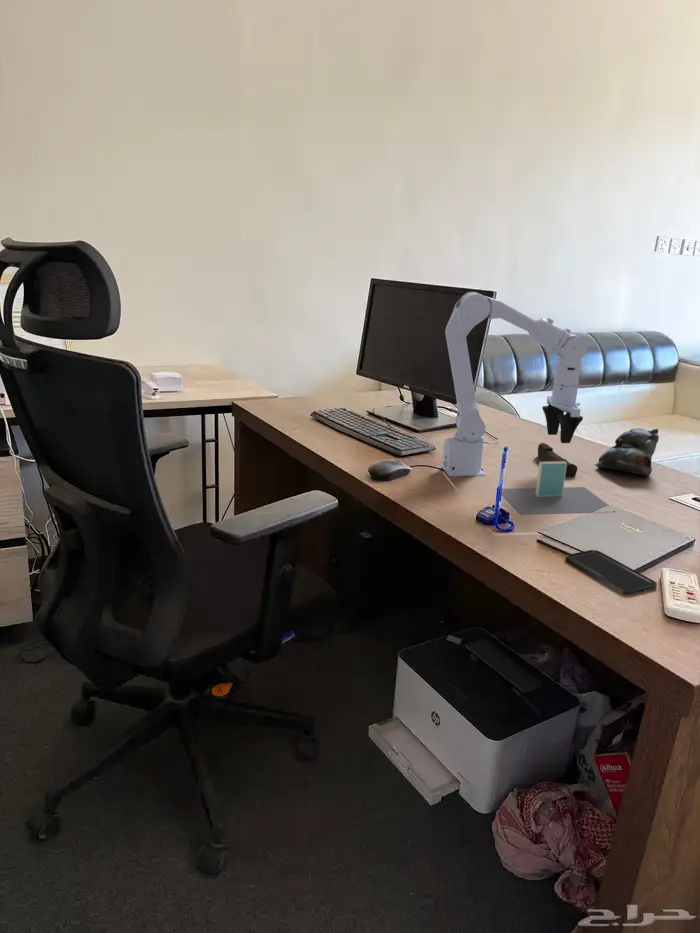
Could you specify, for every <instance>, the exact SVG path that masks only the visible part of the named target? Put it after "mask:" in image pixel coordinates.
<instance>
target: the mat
mask: <svg viewBox="0 0 700 933" xmlns="http://www.w3.org/2000/svg"><path fill="white" fill-rule="evenodd" d="M497 489H498V488H495V491H497ZM502 489H503V492H502V495H501V496H502V498H504V499H505V501H507V502H508V503H509V504H510V505H511V507H513V508H514V510H515V511H516V512H517V513H518V514H519V515H521V516H522V515H523V516H524V515H525V516H527V515H552V514H553V515H554V514H555V515H556V514H558V515H559V514H593V513H592V512H595V511H597V510H599V509H601V508H603V507H606V506H610V505H609V504H608V503H607V502H605V501H604V500H602V499H601V498H600V497H599V496H597V495H596V494H594V493H593V492H592V491H591V490H589V489H588V488H586V487H585V486H583V487H581V486H579V487H577V486H575V487H574V486H573V487H572V486H569V487H564V489H563V496H540V497H538V496H536V487H533V488H532V487H527V488H526V487H525V488H524V487H523V488H518V487H517V488H502Z"/></svg>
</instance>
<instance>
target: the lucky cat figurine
mask: <svg viewBox="0 0 700 933" xmlns="http://www.w3.org/2000/svg"><path fill="white" fill-rule="evenodd" d="M658 433H659V428H654V429H651V430H649V429H646V428H641V427H636V428H631V429H630V430H627V431H624V432H622V433H621V434H620V435H618V437H617V438H616V439H615V440H614V443H615V445H614V446H611V447H610V449H607V450H606V451H605V452H604V453H603V454H601V456H600V457H599V459H598V462H596V464H594V466H595V467H597V468H598V469H599V468H600V469H611V470H618V471H623V472H628V473H633V474H636V475H639V476H641V477H645V478H649V477H650V475H651V473H652V471H653V466H652V461H653V460H652V458H653V455H654V454H655V451H656V448H657V444H658V443H659V439H660V436H659V434H658Z"/></svg>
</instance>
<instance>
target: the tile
mask: <svg viewBox="0 0 700 933" xmlns="http://www.w3.org/2000/svg"><path fill="white" fill-rule="evenodd" d="M566 466H567V463H566V462H565V461H547V462H541V461H539V463H538V471H537V481H536V487H535V488H536V496H538V497H540V496H563V489H564V488H565V481H566V477H565V473H566Z"/></svg>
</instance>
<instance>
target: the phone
mask: <svg viewBox="0 0 700 933" xmlns="http://www.w3.org/2000/svg"><path fill="white" fill-rule="evenodd" d="M565 562H566V563H568V564H569V565H571V566H573V567H574V568H576V569H578V570H580V571H581V572H582V573H585V574H586V575H588V576H589V577H591V578H593V579H594V580H597V582H600V583H601V584H603V585H605V586H606V587H608V588H610V589H612V590H613V591H615V592H616V593H618V594H620V595H622V596H633V595H638V594H641V593H646V592H650V591H653V590H656V589H657V585H658V584H657V581H655V580H653V579H652V578H649V577H648V576H646V575H643V574H642V573H640V572H638V571H636V570H635V569H633V568H631V567H629V566H627V565H625V564H624V563H621V562H620V561H618V560H616V559H614V558H613V557H611V556H609V555H608V554H605V553H603V552H602V551H599V550H598V549H590V550H585V551H579V552H575V553H569V554H566V555H565Z"/></svg>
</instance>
